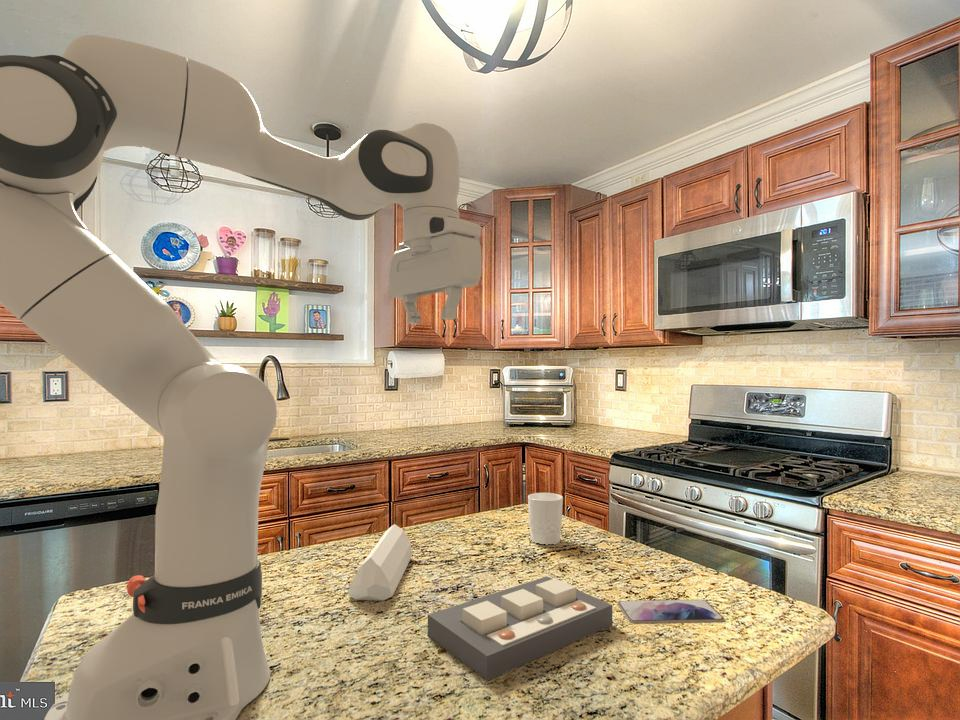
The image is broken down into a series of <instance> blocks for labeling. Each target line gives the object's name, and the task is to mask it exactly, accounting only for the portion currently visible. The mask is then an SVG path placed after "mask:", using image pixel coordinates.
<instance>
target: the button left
mask: <svg viewBox="0 0 960 720" xmlns="http://www.w3.org/2000/svg"><path fill="white" fill-rule="evenodd" d="M463 624H464V625H466V626H467V627H469V628H470V629H472V630H473V631H475V632H476V633H478V634H479V635H484V634H487V633H489V632H492V631H495V630H497V629H500V628H503V627H505V626H507V611H505V610H503V609H501V608H499V607H498V606H496V605H494V604H492V603H491V602H489V601H485V602H482V603H479V604H476V605H473V606H469V607H466V608H463Z"/></svg>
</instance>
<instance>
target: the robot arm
mask: <svg viewBox="0 0 960 720" xmlns="http://www.w3.org/2000/svg"><path fill="white" fill-rule="evenodd" d="M261 118H262V117H261V114H260V111H259V108H258V106H257V104H256V102H255V100H254V98H253V96H252V95H251V94H250V92H249V91H248V89H247V88H246V87H245V86H244V85H243V84H242V83H241V82H240V81H239V80H237V79H235V78H234V77H232V76H230V75H228V74H227V73H225V72H223V71H221V70H219V69H217V68H215V67H213V66H210V65H208V64H204V63H202V62H199V61H196V60H194V59H191V58H188V57H185V56H182V55H179V54H176V53H173V52H170V51H168V50H164V49H161V48H157V47H155V46H154V47H153V46H150V45H146V44H142V43H138V42H134V41H130V40H125V39H121V38H116V37H111V36H110V37H109V36H105V35H103V36H102V35H99V34H85V35H82V36H81V35H80V36H78V37H76V38H75V39H73V40H72V41H71V42H70V43H69V44H68V46H67V47H66V48H65V50H64V52H63V54H62V56H61V55H57V54H45V55H39V56H31V55H30V56H29V55H21V54H20V55H19V54H18V55H17V54H8V55H7V54H5V55H0V305H1V306H2V307H4V308H5V309H6V310H7V311H8V312H10V313H11V314H12V315H13V316H14V317H15V318H16V319H17V320H19V321H21V323H22V324H24V325H25V326H26V327H27V328H29V330H31V331H33V333H35V334H36V335H38V336H39V337H40V338H41V339H42V340H44V341H45V342H46V343H47V344H48V345H49V346H51V347H52V348H53V349H55V350H56V351H57V352H58V353H60V354H61V355H63V357H65V358H66V359H67V360H68V361H70V363H73V365H75V366H76V367H77V368H78V369H79V370H81V371H82V372H84V374H86V375H87V376H89V378H91V379H92V380H93V381H95V383H97V384H98V385H100V386H101V387H102V388H103V389H104V390H106V391H107V392H108V393H109V394H110V395H112V396H113V397H114V398H116V400H118V401H119V402H120V403H121V404H123V405H124V406H125V407H126V408H127V409H129V410H130V411H131V412H133V413H134V414H135V415H137V417H138V418H140V419H141V420H143V422H145V423H146V424H147V425H148V426H150V427H151V428H152V429H153V430H154V431H156V432H157V433H159V435H161V436H162V437H163V446H162V447H163V448H162V462H161V470H160V471H161V472H160V479H159V490H158V497H157V504H156V507H155V535H154V537H155V540H154V541H155V543H154V544H155V545H154V551H155V553H154V574H153V575H151V576H150V577H149V578H148V579H146V577H144V575H140V574H139V575H134V576H131V578H129V580H128V581H127V582H126V585H125V586H126V592H127V595H128V596H130V597H131V598H132V611H133V613H132V614H131V615H130V616H128V617H127V618H126V619H125V620H124V621H123V622H121V623H120V624H118V626H116V628H114V629H113V630H112V631H111V632H110V633H108V634H107V635H105V637H103V638H102V639H101V640H99V641H98V642H97V643H96V644H95V645H93V646H92V647H91V648H89V649H88V651H87V652H86V653H84V655H83V657H82V658H81V660H80V661H79V663H78V666H77V668H76V670H75V673H74V675H73V678H72V681H71V683H70V688H69V692H67V693H65V694H63V695H62V696H61V697H60V698H59V699H58V700H57V701H55V702H54V704H52V706H51V707H50V708H49V710H48V711H47V713H46V714H45V716H44V719H43V720H236V719H237V718H238V716H239V715H240V713H241V711H242V710H243V708H245V707H246V706H247V705H248V704H249V703H251V702H252V701H253V700H254V699H256V698H257V697H258V696H259V695H260V694H261V693H262V692H263V690H265V688H267V685H268V683H269V681H270V678H271V669H270V666H269V663H268V661H267V656H266V653H265V652H266V651H265V649H264V643H263V638H262V637H263V636H262V631H261V629H262V628H261V621H260V610H259V609H261V602H262V597H263V572H262V564H261V563H262V562H260V561H259V558H258V554H259V551H258V549H259V548H258V547H259V546H258V545H259V542H258V541H259V504H260V503H259V502H260V493H261V487H262V483H263V482H262V481H263V476H264V471H265V466H266V462H267V461H266V460H267V456H268V455H267V454H268V450H269V443H270V437H271V435H272V434H273V431H274V428H275V425H276V422H277V417H278V416H277V414H278V413H277V412H278V411H277V403H276V400H275V398H274V395H273V393H272V392H271V390H270V388H269V387H268V386H267V384H266V383H265V382H264V381H263V380H262V379H261V378H260V377H259V376H258V375H256V374H255V373H254V372H252V371H251V370H249V369H247V368H245V367H243V366H241V365H238V364H237V365H235V364H230V363H221V362H220V361H218V359H216V357H215V356H214V355H213V354H212V353H210V351H209V350H208V349H207V348H206V347H205V346H204V345H203V344H202V343H201V342H200V341H199V340H198V338H197V337H196V336H195V335H194V333H193V332H192V331H191V330H190V329H189V328H188V327H187V325H185V323H184V322H183V321H182V320H181V318H180V317H179V316H178V314H177V313H176V311H175V310H174V309H173V308H172V306H170V305H169V304H168V303H167V302H166V301H165V300H164V299H163V298H162V297H161V296H159V294H157V292H156V291H154V289H152V288H151V287H150V286H149V285H148V284H147V283H146V282H145V281H143V280H142V279H141V278H140V276H138V275H137V273H135V271H133V270H132V269H131V268H130V267H129V266H128V265H127V264H126V263H125V262H124V261H122V259H121V258H120V257H118V256H117V255H116V254H115V253H114V251H112V250H111V249H110V248H108V247H107V246H106V245H105V244H104V243H103V242H102V241H101V240H99V239H98V238H97V237H96V236H95V235H94V234H93V233H92V232H91V231H90V230H89V228H88V227H87V226H86V225H85V223H84V222H83V221H82V220H81V218H80V217H79V215H78V213H77V211H78V210H79V209H80V207H81V206H82V205H83V203H84V202H86V200H87V198H89V196H90V194H91V193H92V192H93V190H94V188H95V186H96V183H97V180H98V175H99V173H100V171H101V167H102V164H103V157H104V154H105V152H107V151H109V150H111V149H114V148H120V147H136V148H137V147H138V148H143V147H144V148H146V149H150V150H154V151H157V152H159V153H163V154H166V155H170V156H175V157H178V158H182V159H185V160H189V161H192V162H197V163H202V164H205V165H209V166H212V167H218V168H221V169H224V170H225V169H226V170H228V171H230V172H231V171H232V172H235V173H237V174H240V175H242V176H246V177H248V178H251V179H254V180H256V181H259V182H262V183H266V184H269V185H271V186H274V187H279V188H281V189H284V190H287V191H291V192H294V193H297V194H299V195H303V196H305V197H309V198H312V199H314V200H315V201H316V200H317V201H319V202H320V203H322V204H324V205H325V206H326V207H328V208H329V209H330V210H332V211H333V212H334V213H336V214H338V215H340V216H342V217H344V218H345V219H348V220H352V221H363V220H367V219H369V218H371V217H373V216H374V215H376V214H377V213H378V212H379V211H381V210H382V209H384V208H385V207H387V206H389V205H391V204H392V203H393V204H398V205H400V206H401V207H402V243H399V245H398V247H397V249H396V250H395V251H394V253H393V255H392V256H391V260H390V263H389V274H388V275H389V276H388V293H389V295H390V297H391V298H394V299H395V298H396V299H401V302H402V305H403V308H404V310H405V313H406V323H407V324H409V325H416V324H420V323H421V320H422V318H421V315H422V313H421V312H418V307H417V304H418V302H419V301H418V298H419V297H422V296H423V297H424V296H428V295H434V294H438V293H440V294H441V293H444V292H445V295H446V296H447V297H446V300H445V304H444V306H442V307H441V318H442V320H449V321H450V320H455V319H457V318H458V317H457V316H458V313H457V312H458V307H459V304H460V302H461V300H462V297H463V289H464V288H472V287H476V286H477V285H478V284H479V282H480V280H481V276H482V270H483V269H482V265H483V263H482V258H483V257H482V245H481V242H480V241H479V240H478V239H479V238H481V236H482V226H481V225H480V224H479V223H475V222H472V221H468V220H465V219H461V218H460V210H459V207H458V201H457V200H458V194H459V191H460V162H459V161H460V160H459V153H458V148H457V147H458V146H457V145H456V141H455V138H454V137H453V135H452V134H451V133H450V132H449V131H448V130H446V129H445V128H444V127H441V126H440V125H436V124H434V123H429V122H427V123H425V122H424V123H423V122H422V123H417V124H414V125H412V126H411V127H410V128H409V127H408V128H407V129H403V130H398V131H397V130H396V131H391V130H388V129H376V130H373V131H371V132H369V133H367V134H366V135H364V136H363V137H362V138H361V139H359V140H358V141H357V142H355V144H353V145H352V146H351V148H349V149H348V150H347V151H346V152H345V153H343V154H341V155H337V156H332V157H325V156H321V155H318V154H315V153H313V152H309V151H307V150H306V149H302V148H299V147H297V146H294V145H292V144H290V143H287V142H285V141H284V142H283V141H281V140H280V139H277V138H275V136H273V135H271V134H270V133H269V131H268V130H267V129H266V128H265V127H264V125H263V122H262V119H261Z"/></svg>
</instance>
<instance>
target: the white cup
mask: <svg viewBox="0 0 960 720" xmlns="http://www.w3.org/2000/svg"><path fill="white" fill-rule="evenodd" d="M563 502H564V496H563V495H561V494H557V493H553V492H535V493H531V494H528V495H527V503H528V505H527V506H528V509H527V510H528V518H529V519H528V525H529V532H530V533H529V534H530V536H529V537H530V538H529V539H530V541H531V540H532V541H533V542H536V543H540V544H554V545H556V544H555V543H558V542H559V543H560V542H561V532H562V531H561V530H562V523H563V522H562V521H563V505H564V503H563ZM532 541H531V542H532ZM533 542H532V543H533ZM536 543H535V544H536ZM559 543H558V544H559Z"/></svg>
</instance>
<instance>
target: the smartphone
mask: <svg viewBox="0 0 960 720" xmlns="http://www.w3.org/2000/svg"><path fill="white" fill-rule="evenodd" d="M617 607H618V608H619V609H620V611H621V612H622V614H623V615H624V617H625V619H626V620H627V622H629V623H631V624H674V623H675V624H677V623H679V624H680V623H681V624H683V623H685V624H686V623H688V624H689V623H723V622H725V617H724V616H722V615H721V613H719V612H718V611H717V610H716V609H715V607H713V606H712V605H711V604H710V603H709V602H708V601H707V600H705V599H660V600H659V599H658V600H657V599H653V600H650V599H649V600H619V601H617Z"/></svg>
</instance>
